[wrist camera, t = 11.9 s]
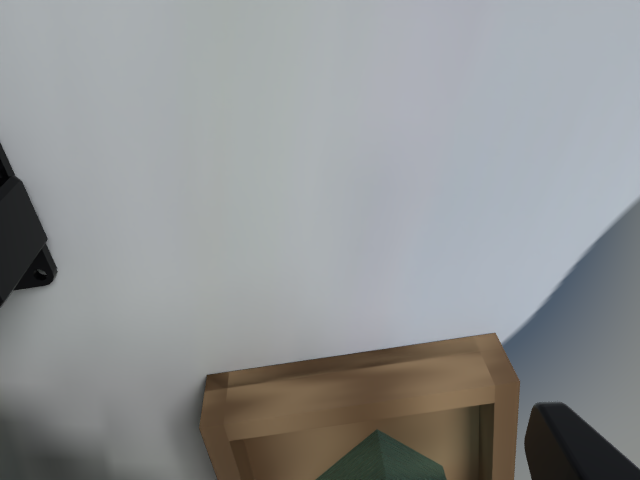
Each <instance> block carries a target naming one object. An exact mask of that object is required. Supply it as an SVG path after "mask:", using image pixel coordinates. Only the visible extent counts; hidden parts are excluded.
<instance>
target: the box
mask: <svg viewBox="0 0 640 480" xmlns="http://www.w3.org/2000/svg"><path fill="white" fill-rule="evenodd" d="M519 390H520V381H519V379H518V377H517V375H516V373H515V371H514V369H513V367H512V365H511V363H510V361H509V359H508V357H507V355H506V353H505V351H504V349H503V347H502V345H501V343H500V341H499V339H498V337H497V335H496V333H492V334H485V335H478V336H471V337H464V338H457V339H450V340H444V341H437V342H430V343H423V344H416V345H409V346H402V347H396V348H389V349H382V350H375V351H368V352H361V353H354V354H348V355H341V356H334V357H327V358H320V359H313V360H307V361H300V362H293V363H286V364H279V365H272V366H265V367H259V368H252V369H245V370H238V371H231V372H224V373H217V374H211V375H207V379H206V386H205V393H204V399H203V406H202V412H201V419H200V425H199V429H200V432H201V435H202V438H203V440H204V443H205V446H206V449H207V452H208V454H209V457H210V460H211V463H212V465H213V468H214V471H215V474H216V477H217V479H218V480H315V479H317V478H318V477H319V476H320V475H322V474H323V473H324V472H325V471H326V470H328V469H329V468H330V467H331V466H333V465H334V464H335V463H336V462H337V461H339V460H340V459H341V458H342V457H343V456H345V455H346V454H347V453H348V452H350V451H351V450H352V449H353V448H354V447H356V446H357V445H358V444H359V443H360V442H362V441H363V440H364V439H365V438H367V437H368V436H369V435H370V434H371V433H373V432H374V431H375V430H376V429H378V430H380V431H381V432H383V433H385V434H387V435H389V436H390V437H392V438H394V439H396V440H397V441H399V442H401V443H403V444H404V445H406V446H408V447H410V448H412V449H413V450H415V451H417V452H419V453H420V454H422V455H424V456H426V457H427V458H429V459H431V460H433V461H435V462H436V463H438V464H440V465H442V466H443V469H444V472H445V476H446V479H447V480H514V471H515V470H514V469H515V454H516V438H517V423H518V406H519Z"/></svg>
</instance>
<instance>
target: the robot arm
mask: <svg viewBox="0 0 640 480" xmlns="http://www.w3.org/2000/svg"><path fill="white" fill-rule="evenodd" d="M46 241H47V236H46V234H45V232H44V230H43V227H42V225H41V223H40V221H39V218H38V216H37V214H36V212H35V210H34V207H33V205H32V203H31V201H30V198H29V196H28V194H27V192H26V189H25V187H24V185H23V183H22V181H21V180H20V179H18V178H17V177H16V176H15V174H14V172H13V170H12V168H11V165H10V163H9V161H8V159H7V157H6V154H5V152H4V150H3V148H2V146H1V143H0V308H1V307H2V305H3V304H4V303H5V301H6V300H7V298H8V297H9V295H10V294H11V292H12V291H13V290H19V289H26V288H32V287H39V286H45V285H48V284H50V283H51V282H52V281H53V280H54V278H55V277H56V274H57V267H56V265H55V263H54V261H53V258H52V256H51V254H50V252H49V250H48V247H47V245H46ZM37 269H40V270H43V271H45V272H46V274H47V275H44V274H41V273H39V272H38V271H37ZM524 444H525V453H526V458H527V462H528V466H529V470H530V474H531V478H532V480H640V469H639V468H638V467H637V466H636V465H634V464H633V463H632V462H631V461H630V460H629V459H628V458H626V457H625V456H624V455H623V454H622V453H621V452H620V451H619V450H617V449H616V448H615V447H614V446H613V445H612V444H611V443H609V442H608V441H607V440H606V439H605V438H604V437H603V436H601V435H600V434H599V433H598V432H597V431H596V430H595V429H593V428H592V427H591V426H590V425H589V424H588V423H587V422H585V421H584V420H583V419H582V418H581V417H580V416H579V415H577V414H576V413H575V412H574V411H573V410H572V409H571V408H570V407H568V406H567V405H566V404H564V403H562V402H539V403H536V404H535V405H534V406H533V408H532V411H531V415H530V419H529V423H528V427H527V431H526V435H525V443H524Z"/></svg>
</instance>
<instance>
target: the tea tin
mask: <svg viewBox="0 0 640 480" xmlns="http://www.w3.org/2000/svg"><path fill="white" fill-rule="evenodd" d="M315 480H447V479H446V476H445V472H444V469H443V466H442V465H440V464H438V463H436V462H435V461H433V460H431V459H429V458H427V457H426V456H424V455H422V454H420V453H419V452H417V451H415V450H413V449H412V448H410V447H408V446H406V445H404V444H403V443H401V442H399V441H397V440H396V439H394V438H392V437H390V436H389V435H387V434H385V433H383V432H381V431H380V430H378V429H376V430H375V431H374V432H373V433H371V434H370V435H369V436H368V437H367V438H365V439H364V440H363V441H362V442H360V443H359V444H358V445H357V446H356V447H354V448H353V449H352V450H351V451H350V452H348V453H347V454H346V455H345V456H343V457H342V458H341V459H340V460H339V461H337V462H336V463H335V464H334V465H333V466H331V467H330V468H329V469H328V470H326V471H325V472H324V473H323V474H322V475H320V476H319V477H318V478H317V479H315Z"/></svg>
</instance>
